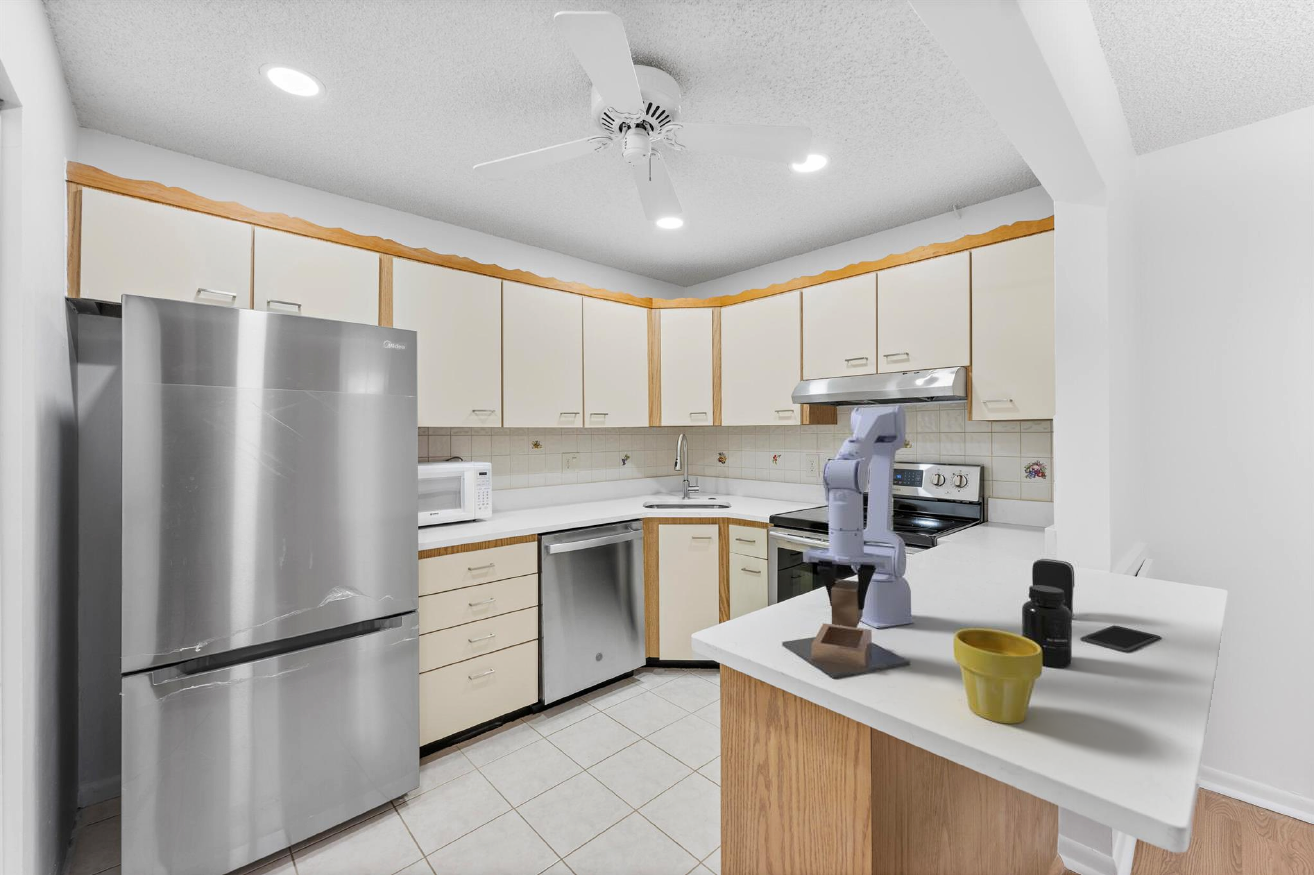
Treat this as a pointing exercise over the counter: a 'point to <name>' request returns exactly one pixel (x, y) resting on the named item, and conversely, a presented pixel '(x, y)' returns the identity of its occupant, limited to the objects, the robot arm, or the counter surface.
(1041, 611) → the supplement bottle
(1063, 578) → the battery charger
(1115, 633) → the cell phone
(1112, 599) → the counter surface
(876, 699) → the counter surface
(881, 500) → the robot arm
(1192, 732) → the counter surface
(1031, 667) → the plant pot
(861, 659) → the duct collar
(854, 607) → the block
